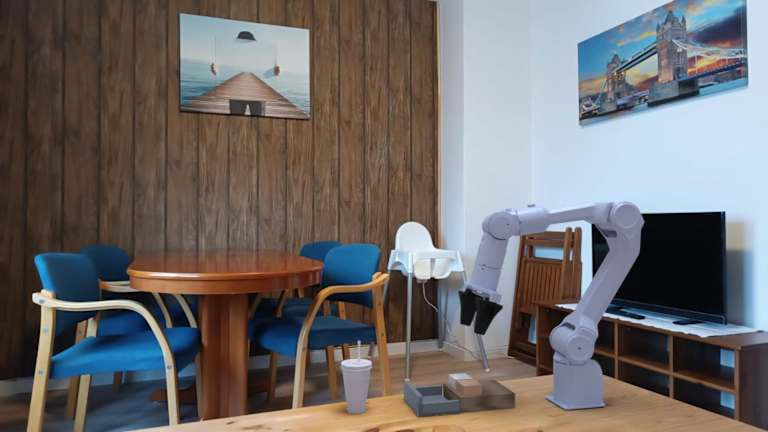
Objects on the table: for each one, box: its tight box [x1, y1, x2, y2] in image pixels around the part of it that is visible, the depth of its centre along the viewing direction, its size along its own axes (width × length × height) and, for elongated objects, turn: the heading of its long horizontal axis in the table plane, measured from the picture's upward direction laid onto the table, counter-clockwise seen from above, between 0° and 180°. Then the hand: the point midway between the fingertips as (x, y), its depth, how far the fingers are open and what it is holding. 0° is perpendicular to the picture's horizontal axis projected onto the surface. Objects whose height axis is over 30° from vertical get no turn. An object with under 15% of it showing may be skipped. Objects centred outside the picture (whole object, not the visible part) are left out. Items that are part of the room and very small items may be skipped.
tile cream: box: [448, 372, 474, 389], centre depth 113 cm, size 4×4×2 cm
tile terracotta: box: [456, 378, 482, 396], centre depth 108 cm, size 4×4×2 cm
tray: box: [403, 379, 461, 418], centre depth 109 cm, size 8×11×4 cm
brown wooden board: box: [442, 379, 516, 414], centre depth 111 cm, size 12×10×3 cm
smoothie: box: [340, 340, 373, 415], centre depth 106 cm, size 6×6×14 cm
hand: (471, 329), depth 111 cm, fingers open, 7 cm apart
